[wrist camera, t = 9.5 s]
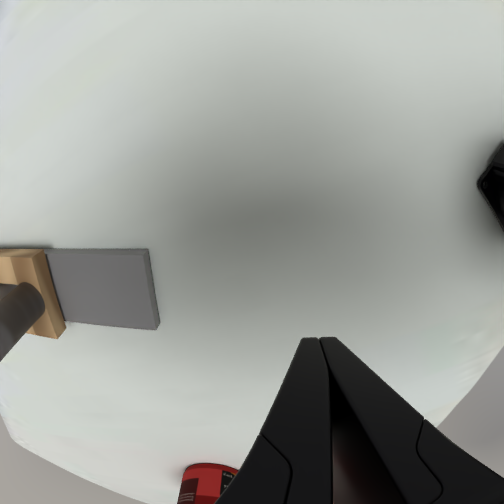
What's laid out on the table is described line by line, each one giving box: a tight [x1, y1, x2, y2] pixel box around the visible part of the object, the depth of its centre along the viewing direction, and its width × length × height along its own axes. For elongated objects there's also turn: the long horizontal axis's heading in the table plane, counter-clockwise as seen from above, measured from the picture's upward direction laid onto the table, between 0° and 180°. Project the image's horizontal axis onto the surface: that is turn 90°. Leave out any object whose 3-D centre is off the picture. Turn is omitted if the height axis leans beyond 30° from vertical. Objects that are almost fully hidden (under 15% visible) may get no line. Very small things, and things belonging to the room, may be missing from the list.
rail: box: [0, 249, 160, 330], centre depth 19 cm, size 16×6×7 cm, turn 90°
